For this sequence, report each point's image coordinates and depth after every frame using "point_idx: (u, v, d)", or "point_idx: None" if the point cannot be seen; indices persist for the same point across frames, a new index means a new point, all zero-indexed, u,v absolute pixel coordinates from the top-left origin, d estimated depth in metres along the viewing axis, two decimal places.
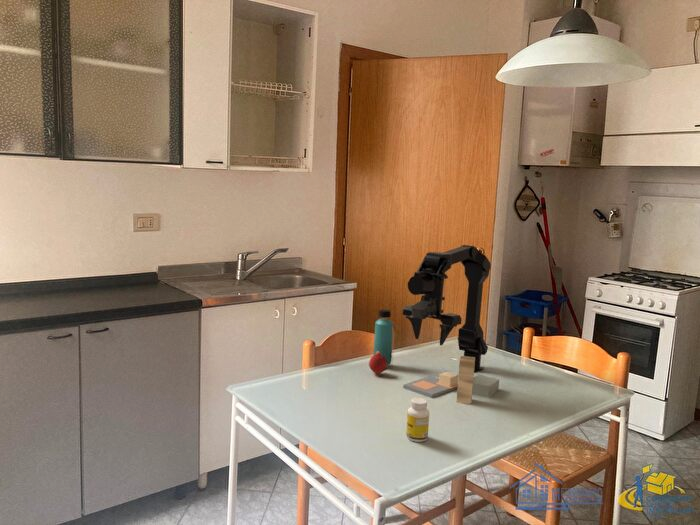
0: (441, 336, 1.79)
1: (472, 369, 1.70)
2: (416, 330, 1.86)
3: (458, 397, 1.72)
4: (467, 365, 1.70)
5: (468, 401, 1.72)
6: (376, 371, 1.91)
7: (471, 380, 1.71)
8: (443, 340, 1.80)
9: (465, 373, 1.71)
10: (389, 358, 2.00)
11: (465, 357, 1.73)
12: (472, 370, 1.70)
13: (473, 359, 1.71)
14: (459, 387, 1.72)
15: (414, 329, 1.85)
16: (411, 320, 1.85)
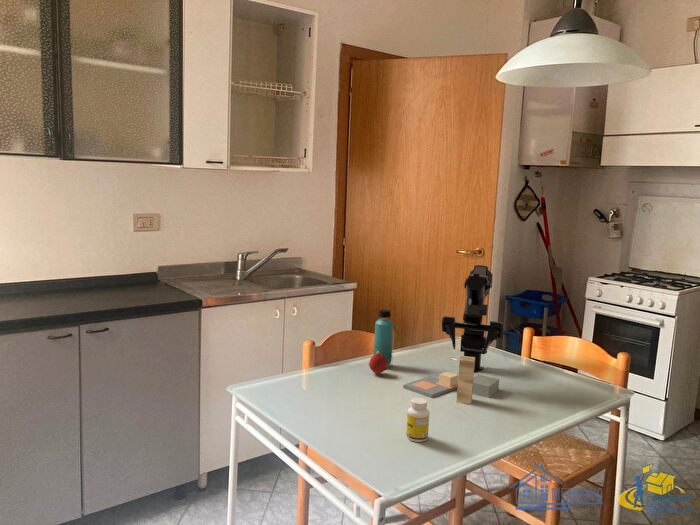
0: (487, 342, 1.79)
1: (472, 369, 1.70)
2: None
3: (458, 397, 1.72)
4: (467, 365, 1.70)
5: (468, 401, 1.72)
6: (376, 371, 1.91)
7: (471, 380, 1.71)
8: (487, 347, 1.79)
9: (465, 373, 1.71)
10: (389, 358, 2.00)
11: (465, 357, 1.73)
12: (472, 370, 1.70)
13: (473, 359, 1.71)
14: (459, 387, 1.72)
15: (453, 338, 1.82)
16: (452, 328, 1.83)
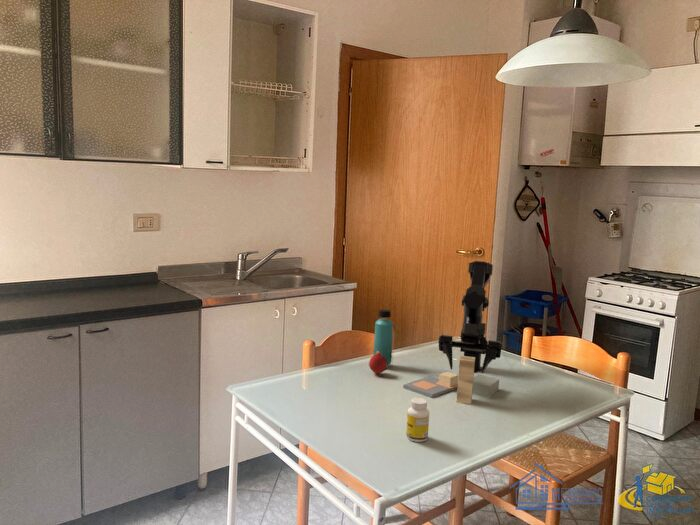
0: (485, 362, 1.74)
1: (472, 369, 1.70)
2: None
3: (458, 397, 1.72)
4: (467, 365, 1.70)
5: (468, 401, 1.72)
6: (376, 371, 1.91)
7: (471, 380, 1.71)
8: (485, 367, 1.74)
9: (465, 373, 1.71)
10: (389, 358, 2.00)
11: (465, 357, 1.73)
12: (472, 370, 1.70)
13: (473, 359, 1.71)
14: (459, 387, 1.72)
15: (450, 357, 1.76)
16: (449, 347, 1.77)
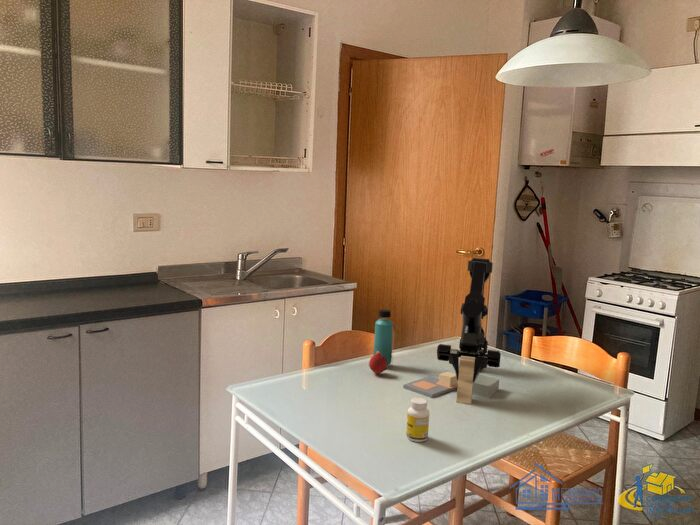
0: (476, 371, 1.72)
1: (472, 369, 1.70)
2: (458, 370, 1.74)
3: (458, 397, 1.72)
4: (467, 365, 1.70)
5: (468, 401, 1.72)
6: (376, 371, 1.91)
7: (471, 380, 1.71)
8: (476, 377, 1.72)
9: (465, 373, 1.71)
10: (389, 358, 2.00)
11: (465, 357, 1.73)
12: (472, 370, 1.70)
13: (473, 359, 1.71)
14: (459, 387, 1.72)
15: (457, 368, 1.73)
16: (455, 357, 1.74)
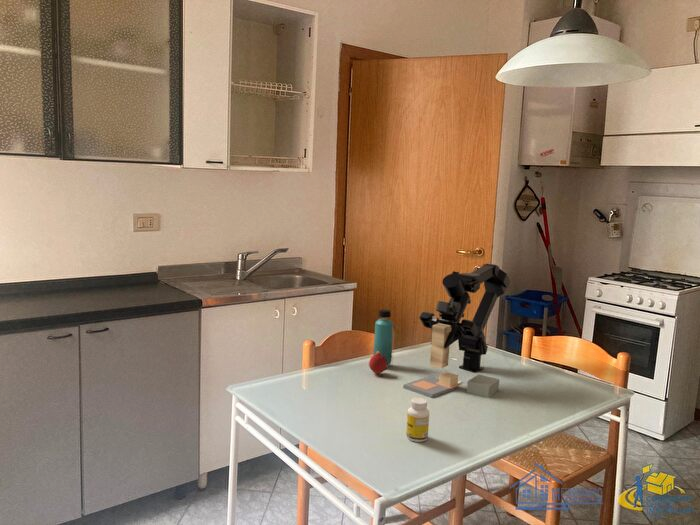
0: (448, 338, 1.82)
1: (443, 335, 1.81)
2: None
3: (431, 361, 1.84)
4: (438, 331, 1.81)
5: (439, 365, 1.82)
6: (376, 371, 1.91)
7: (442, 345, 1.81)
8: (448, 343, 1.82)
9: (437, 338, 1.82)
10: (389, 358, 2.00)
11: (441, 324, 1.84)
12: (443, 336, 1.81)
13: (445, 326, 1.82)
14: (432, 351, 1.84)
15: None
16: (433, 324, 1.86)
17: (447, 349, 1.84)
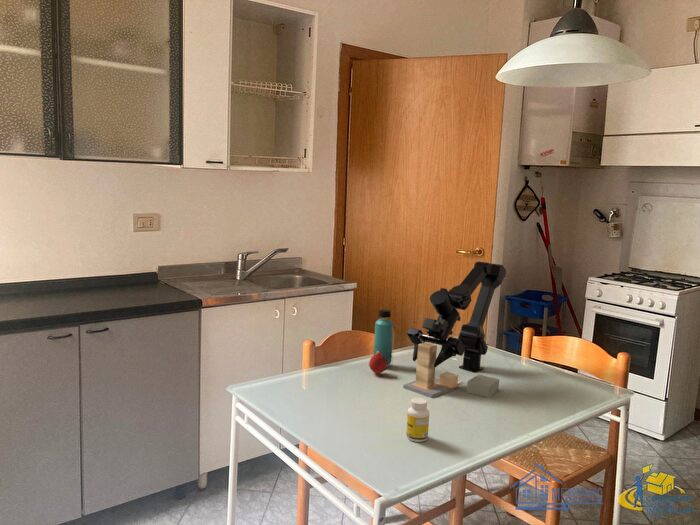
0: (438, 356, 1.79)
1: (428, 355, 1.79)
2: (416, 352, 1.84)
3: (417, 380, 1.82)
4: (424, 351, 1.79)
5: (424, 385, 1.80)
6: (376, 371, 1.91)
7: (427, 365, 1.79)
8: (438, 362, 1.79)
9: (422, 358, 1.80)
10: (389, 358, 2.00)
11: (427, 343, 1.82)
12: (428, 355, 1.79)
13: (431, 346, 1.80)
14: (417, 371, 1.81)
15: (415, 350, 1.84)
16: (416, 340, 1.85)
17: (433, 369, 1.81)
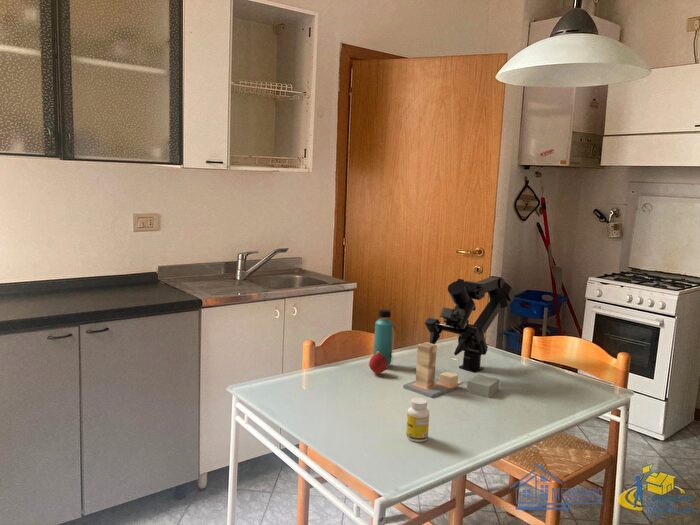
0: (459, 345, 1.85)
1: (428, 355, 1.79)
2: (432, 340, 1.91)
3: (417, 380, 1.82)
4: (424, 351, 1.79)
5: (424, 385, 1.80)
6: (376, 371, 1.91)
7: (427, 365, 1.79)
8: (458, 350, 1.85)
9: (422, 358, 1.80)
10: (389, 358, 2.00)
11: (427, 343, 1.82)
12: (428, 355, 1.79)
13: (431, 346, 1.80)
14: (417, 371, 1.81)
15: (431, 338, 1.91)
16: (432, 329, 1.92)
17: (433, 369, 1.81)
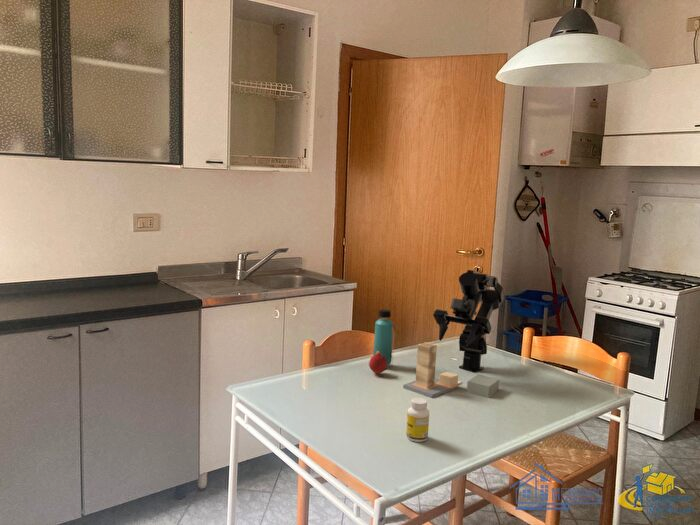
0: (470, 335, 1.85)
1: (428, 355, 1.79)
2: (442, 331, 1.91)
3: (417, 380, 1.82)
4: (424, 351, 1.79)
5: (424, 385, 1.80)
6: (376, 371, 1.91)
7: (427, 365, 1.79)
8: (470, 341, 1.85)
9: (422, 358, 1.80)
10: (389, 358, 2.00)
11: (427, 343, 1.82)
12: (428, 355, 1.79)
13: (431, 346, 1.80)
14: (417, 371, 1.81)
15: (441, 329, 1.91)
16: (441, 320, 1.92)
17: (433, 369, 1.81)
